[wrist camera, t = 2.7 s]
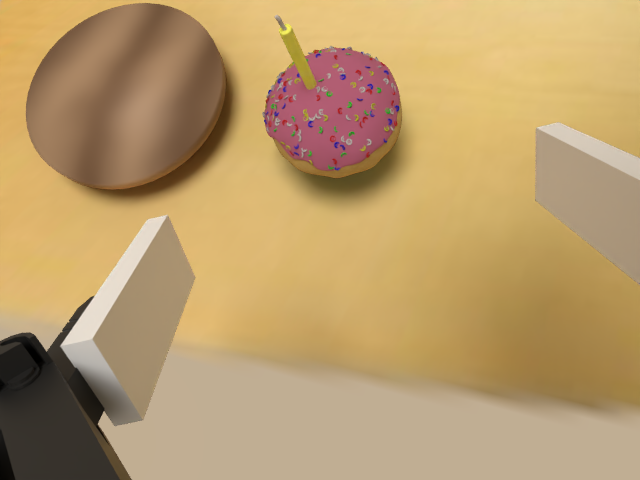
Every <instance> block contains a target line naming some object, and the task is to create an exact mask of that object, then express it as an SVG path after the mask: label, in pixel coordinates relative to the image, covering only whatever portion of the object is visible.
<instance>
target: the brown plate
mask: <svg viewBox="0 0 640 480" xmlns="http://www.w3.org/2000/svg"><path fill="white" fill-rule="evenodd" d="M225 93H226V75H225V68H224V64H223V61H222V58H221V56H220V53H219V51H218V49H217V47H216V45H215V43H214V41H213V39H212V38H211V36H210V35H209V33H208V32H207V30H206V29H205V28H204V27H203V26H202V25H201V24H200V23H199V22H198V21H196V20H195V19H194V18H192V17H191V16H190V15H188V14H186V13H184V12H182V11H180V10H178V9H175V8H172V7H169V6H164V5H160V4H150V3H139V4H129V5H123V6H119V7H115V8H111V9H108V10H106V11H103V12H100V13H98V14H96V15H94V16H92V17H90V18H88V19H86V20H84V21H83V22H81V23H80V24H78V25H77V26H75V27H74V28H73V29H71V30H70V31H68V32H67V33H66V34H65V35H64V36H63V37H62V38H61V39H60V40H58V42H57V43H56V44H55V45H54V46H53V47H52V48H51V49H50V51H49V52H48V53H47V55H46V56H45V57H44V59H43V60H42V62H41V64H40V65H39V67H38V69H37V71H36V73H35V75H34V77H33V80H32V82H31V85H30V89H29V92H28V97H27V103H26V122H27V129H28V132H29V136H30V139H31V141H32V143H33V145H34V147H35V149H36V151H37V152H38V153H39V155H40V156H41V158H42V159H43V160H44V161H45V162H46V163H47V164H48V165H49V166H51V167H52V168H53V169H55V170H56V171H57V172H59V173H60V174H62V175H64V176H65V177H67V178H69V179H71V180H73V181H75V182H77V183H79V184H82V185H85V186H88V187H93V188H98V189H113V190H115V189H126V188H131V187H136V186H141V185H143V184H146V183H149V182H152V181H155V180H157V179H159V178H161V177H163V176H165V175H167V174H169V173H170V172H172V171H173V170H175V169H176V168H178V167H179V166H181V165H182V164H183V163H184V162H186V161H187V160H188V159H189V158H190V157H191V156H192V155H193V154H194V153H195V152H196V151H197V150H198V149H199V148H200V147H201V146H202V145H203V143H204V142H205V141H206V139H207V138H208V137H209V135H210V133H211V132H212V130H213V129H214V127H215V125H216V123H217V120H218V118H219V116H220V113H221V110H222V107H223V104H224V99H225Z"/></svg>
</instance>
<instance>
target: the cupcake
mask: <svg viewBox="0 0 640 480" xmlns="http://www.w3.org/2000/svg"><path fill="white" fill-rule="evenodd" d="M275 19H276V20H277V21H278V23H279V25H280V29H279V33H280V35H281V37H282V39H283V41H284V43H285V45H286V47H287V49H288V51H289V53H290V55H291V58H292V60H293V63H292V64H290V65H289V67H288V68H287V70H285V71H284V72H281V73H280V74H281V75H280V74H279V76H280V77H279V76H277V78H278V80H276V82H275V85H272V86H271V90H269V92H270V91H271V92H270V93H269V92H268V95H267V100H266V105H265V112H263V113H262V114H263V117H264V118H265V120H264V122H265V126H266V130H267V133H268V135H269V136H270V137H272V138H273V139H274V142H275V144H276V146H277V148H278V149H279V151H280V153H281V154H282V155H283V156H284V157H285V158H286V159H287V160H288V161H289V162H290V163H291V164H292V165H293V166H295V167H296V168H297V169H299V170H301V171H303V172H306V173H310V174H315V175H322V176H328V177H332V178H341V177H345V176H348V175H352V174H355V173H359V172H362V171H365V170H368V169H370V168H372V167H374V166H375V165H376V164H377V163H378V162H379V161H380V160H381V159H382V157H384V156H385V155H386V154H387V153H388V152H389V151H390V150H391V149H392V147H393V146H394V144H395V143H396V140H397V138H398V135H399V132H400V128H401V121H402V109H401V102H400V95H399V91H398V87H397V85H396V82H395V80H394V77H393V75H392V73H391V72H390V70H389V69H388V67H387V66H386V65H385V64H383V63H382V62H379V60H378V59H377V57H375V59H374V58H372V57H371V55H370V54H368V53H367V54H364V52H361V53H360V52H357V51H353V50H352V48H351V47H348V48H347V49H345V48H334V47H332V46H330V47H329V48H325V49H323V50H314V51H313V52H312V53H310V52H308V54H310V55H307V56H304V54H303V52H302V49H301V47H300V45H299V43H298V41H297V38H296V36H295V34H294V32H293V29H292V27H291V26H290V25H289V24H285V25H284V24H283V22H282V20H281V18H280V17H279V16H278V15H276V16H275ZM349 48H350V49H349ZM282 73H283V74H282ZM264 114H265V116H264Z"/></svg>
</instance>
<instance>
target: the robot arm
mask: <svg viewBox="0 0 640 480" xmlns="http://www.w3.org/2000/svg"><path fill="white" fill-rule="evenodd" d="M535 201H537V202H538V203H539V204H540V205H541V206H543V207H544V208H545V209H546V210H548V211H549V212H550V213H551V214H553V215H554V216H555V217H556V218H558V219H559V220H560V221H561V222H563V223H564V224H565V225H566V226H567V227H569V228H570V229H571V230H572V231H574V232H575V233H576V234H577V235H579V236H580V237H581V238H582V239H584V240H585V241H586V242H587V243H588V244H590V245H591V246H592V247H593V248H595V249H596V250H597V251H598V252H600V253H601V254H602V255H603V256H605V257H606V258H607V259H608V260H609V261H611V262H612V263H613V264H614V265H616V266H617V267H618V268H619V269H621V270H622V271H623V272H624V273H626V274H627V275H628V276H629V277H630V278H632V279H633V280H634V281H635V282H637V283H638V284H639V285H640V158H638V157H636V156H634V155H632V154H629V153H627V152H625V151H623V150H620V149H618V148H616V147H613V146H611V145H609V144H607V143H604V142H602V141H600V140H598V139H595V138H593V137H591V136H589V135H586V134H584V133H582V132H579V131H577V130H575V129H573V128H570V127H568V126H566V125H564V124H561V123H559V122H558V123H554V124H550V125H545V126H541V127H537V128H536V185H535ZM194 280H195V275H194V273H193V271H192V269H191V266H190V264H189V262H188V259H187V257H186V255H185V253H184V250H183V248H182V246H181V244H180V241H179V239H178V237H177V234H176V232H175V230H174V228H173V225H172V223H171V221H170V219H169V216H168V215H165V216H161V217H156V218H152V219H148V220H147V221H146V223H145V224H144V225H143V227H142V228H141V230H140V231H139V233H138V234H137V236H136V237H135V238H134V240H133V241H132V243H131V244H130V246H129V247H128V249H127V250H126V252H125V253H124V254H123V256H122V257H121V259H120V260H119V262H118V263H117V265H116V266H115V267H114V269H113V270H112V272H111V273H110V275H109V276H108V278H107V279H106V281H105V282H104V283H103V285H102V286H101V288H100V289H99V291H98V292H97V294H96V295H95V296H92V297H91V298H89V299H88V300H87V301H86V302H85V303H84V304H82V305H81V306H80V307H79V308H78V309H77V310H76V312H75V313H74V314H73V316H72V317H71V319H70V320H69V321H70V322H69V323H67V324H66V326H65V327H64V328H63V330H62V331H63V332H61V333H60V334H59V335H58V337H57V338H56V339H55V341H54V342H53V344H52V345H51V346H50V348H49V349H48V351H47V352H46V351H45V349H44V347H43V346H42V345H41V343H40V342H39V340H38V339H37V338H36V336H35V335H34V334H32V333H20V334H16V335H13V336H10V337H8V338H6V339H4V340H2V341H0V480H132V479H131V478H130V476H129V474H128V473H127V471H126V469H125V468H124V466H123V464H122V463H121V461H120V460H119V458H118V456H117V454H116V453H115V451H114V449H113V448H112V446H111V444H110V443H109V441H108V439H107V438H106V436H105V434H104V432H103V431H102V430H101V428H100V427H99V425H98V422H99V420H100V418H101V416H102V414H103V411H105V413H106V414H107V416H108V417H109V418H110V420H111V421H112V423H113V424H114V426H117V425H122V424H127V423H132V422H137V421H142V420H143V419H144V416H145V414H146V411H147V408H148V405H149V402H150V400H151V397H152V395H153V392H154V389H155V386H156V383H157V381H158V378H159V375H160V372H161V370H162V367H163V364H164V361H165V359H166V356H167V354H168V351H169V348H170V345H171V343H172V340H173V337H174V334H175V332H176V329H177V326H178V324H179V321H180V318H181V315H182V313H183V310H184V307H185V304H186V302H187V299H188V296H189V294H190V291H191V288H192V285H193V283H194Z"/></svg>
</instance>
